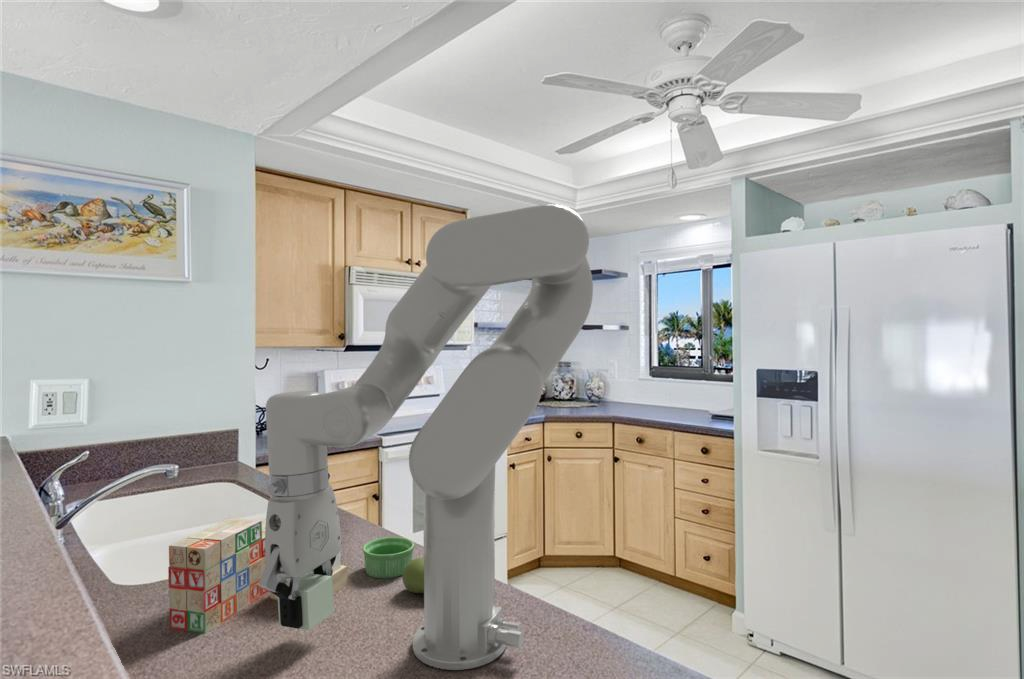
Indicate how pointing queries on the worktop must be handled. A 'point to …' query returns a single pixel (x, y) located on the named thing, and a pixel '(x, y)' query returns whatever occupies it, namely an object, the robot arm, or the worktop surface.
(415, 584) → the pear
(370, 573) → the ramekin
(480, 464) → the robot arm
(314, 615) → the sage cube
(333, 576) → the tower base
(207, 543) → the stack of blocks
